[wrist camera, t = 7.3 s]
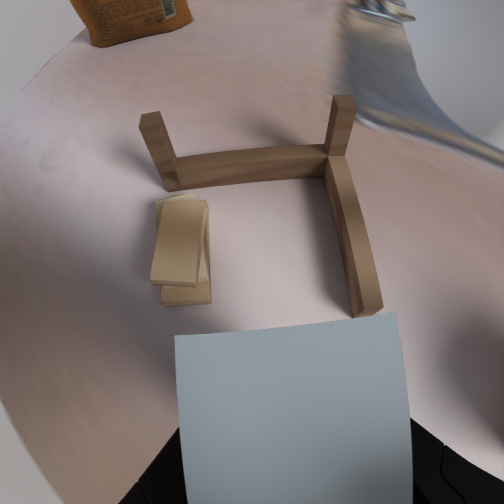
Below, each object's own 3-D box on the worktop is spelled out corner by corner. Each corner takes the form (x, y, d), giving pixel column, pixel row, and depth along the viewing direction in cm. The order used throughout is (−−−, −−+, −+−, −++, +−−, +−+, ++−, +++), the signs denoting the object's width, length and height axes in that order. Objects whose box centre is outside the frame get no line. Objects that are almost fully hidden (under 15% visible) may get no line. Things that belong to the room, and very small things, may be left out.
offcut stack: (215, 303, 20) (206, 288, 17) (161, 306, 20) (144, 293, 17) (211, 206, 23) (204, 182, 20) (163, 212, 23) (151, 189, 20)
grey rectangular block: (316, 462, 12) (405, 584, 2) (249, 469, 12) (209, 611, 2) (307, 365, 14) (395, 311, 4) (240, 371, 14) (173, 334, 4)
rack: (371, 316, 19) (417, 280, 12) (164, 336, 19) (116, 310, 13) (335, 163, 24) (351, 95, 17) (168, 179, 24) (141, 114, 17)
